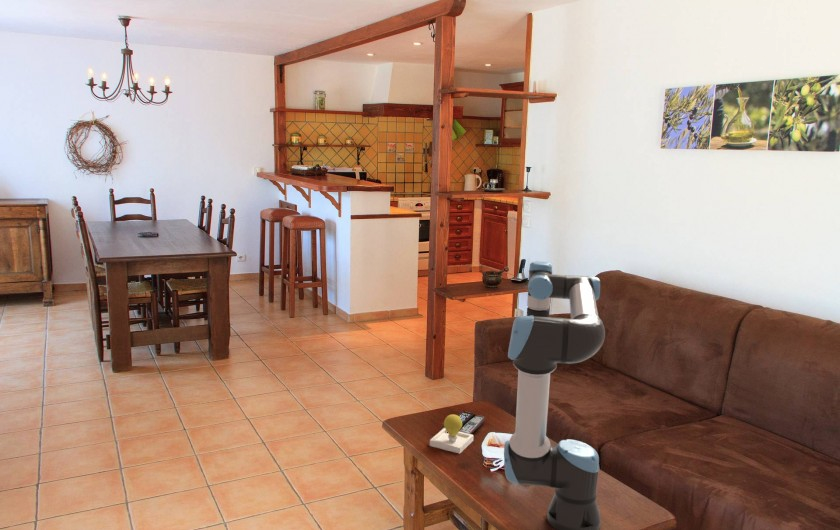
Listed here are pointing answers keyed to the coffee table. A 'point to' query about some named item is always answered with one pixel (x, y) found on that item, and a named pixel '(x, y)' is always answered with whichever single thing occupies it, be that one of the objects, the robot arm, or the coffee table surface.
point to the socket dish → (444, 443)
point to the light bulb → (452, 426)
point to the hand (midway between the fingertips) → (534, 367)
